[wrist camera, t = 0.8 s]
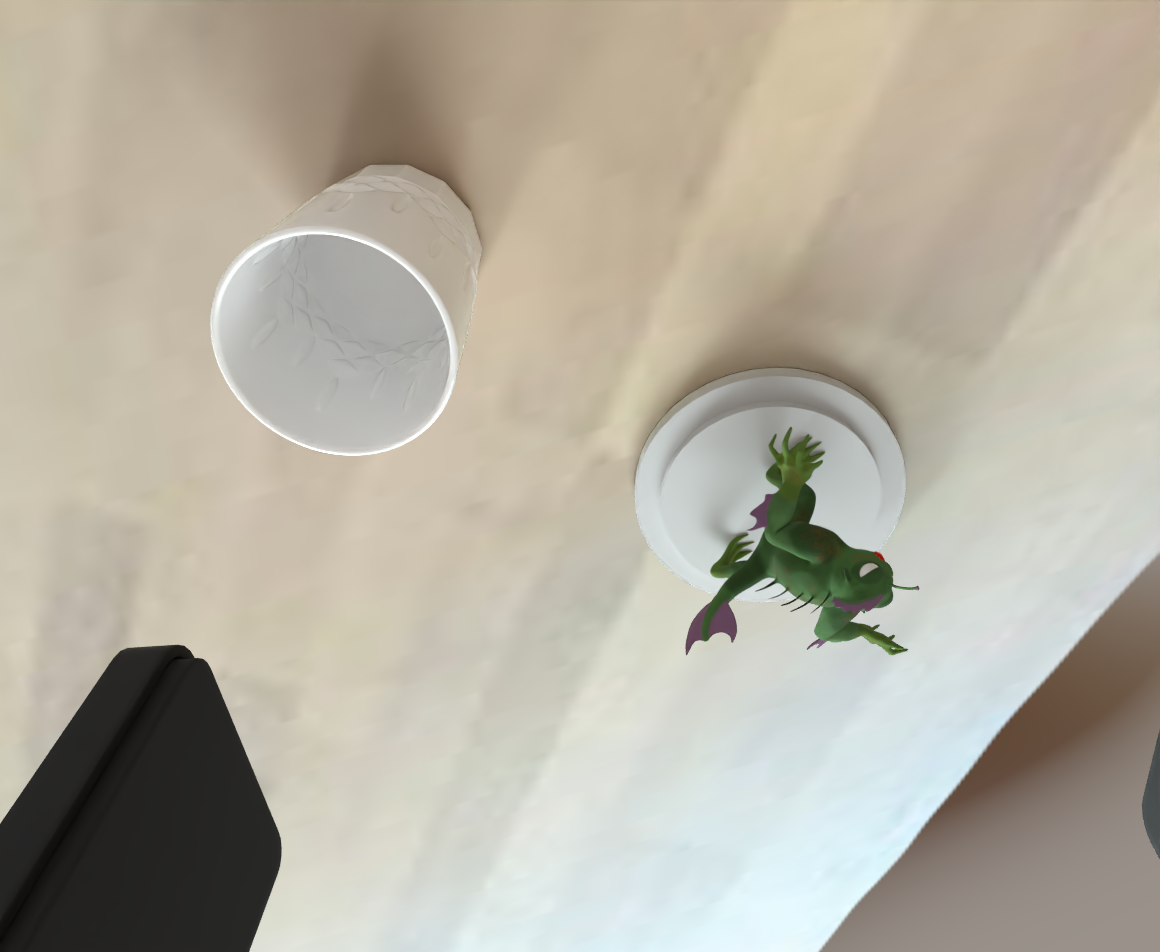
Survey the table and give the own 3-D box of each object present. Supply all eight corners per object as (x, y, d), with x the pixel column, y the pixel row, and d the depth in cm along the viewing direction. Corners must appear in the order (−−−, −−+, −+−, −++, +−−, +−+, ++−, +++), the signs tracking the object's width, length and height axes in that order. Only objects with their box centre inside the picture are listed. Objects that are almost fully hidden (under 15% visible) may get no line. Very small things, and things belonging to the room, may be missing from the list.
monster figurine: (938, 534, 46) (1009, 691, 37) (703, 624, 49) (717, 786, 40) (843, 321, 40) (900, 445, 32) (587, 438, 44) (575, 579, 35)
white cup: (489, 145, 37) (445, 226, 29) (502, 337, 41) (467, 457, 33) (286, 147, 38) (183, 227, 29) (319, 337, 42) (237, 455, 33)
